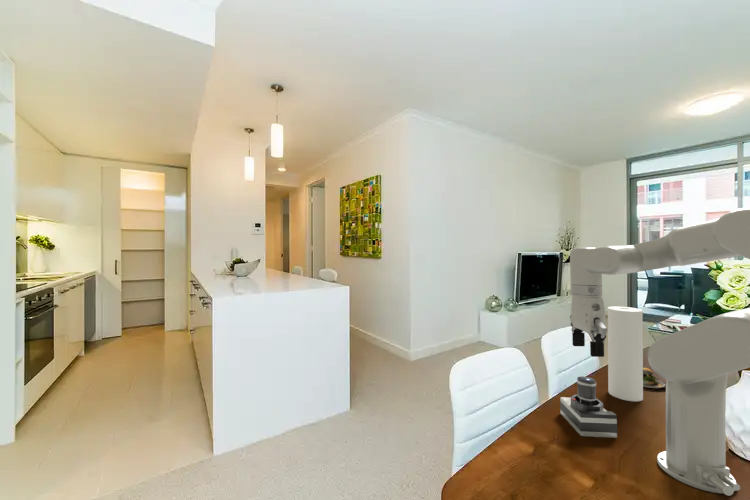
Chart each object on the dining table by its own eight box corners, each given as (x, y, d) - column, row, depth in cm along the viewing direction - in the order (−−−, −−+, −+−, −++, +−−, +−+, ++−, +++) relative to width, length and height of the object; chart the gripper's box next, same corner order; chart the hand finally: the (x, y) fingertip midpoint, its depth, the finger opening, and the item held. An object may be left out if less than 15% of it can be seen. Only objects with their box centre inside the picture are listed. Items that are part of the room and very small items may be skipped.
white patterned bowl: (620, 383, 121) (620, 363, 121) (630, 376, 128) (630, 357, 128) (662, 395, 112) (662, 373, 112) (671, 386, 119) (670, 365, 119)
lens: (600, 411, 90) (599, 382, 90) (582, 411, 91) (582, 382, 91) (590, 403, 95) (590, 376, 95) (574, 403, 95) (573, 375, 95)
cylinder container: (649, 402, 106) (649, 310, 106) (617, 400, 108) (616, 309, 108) (632, 390, 115) (632, 305, 115) (603, 388, 117) (602, 304, 117)
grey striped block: (617, 437, 87) (617, 410, 86) (580, 436, 88) (580, 409, 87) (591, 414, 99) (591, 391, 99) (560, 413, 100) (560, 389, 99)
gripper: (619, 294, 84) (621, 361, 84) (584, 287, 101) (585, 342, 101) (588, 294, 85) (590, 360, 84) (558, 287, 102) (559, 342, 102)
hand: (587, 350), depth 93 cm, fingers open, 9 cm apart
